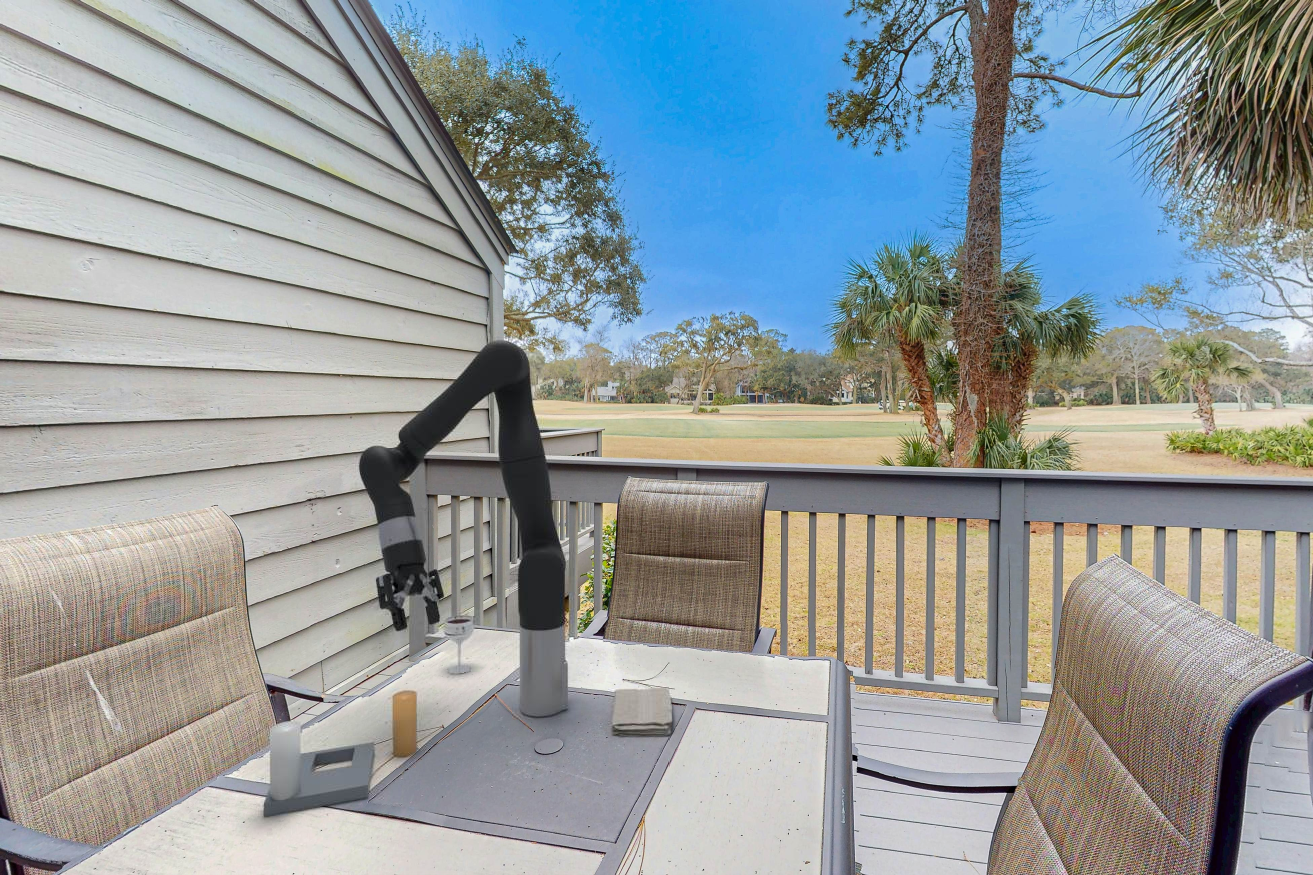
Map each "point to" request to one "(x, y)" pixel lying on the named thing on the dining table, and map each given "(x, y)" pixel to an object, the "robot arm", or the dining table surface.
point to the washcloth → (642, 712)
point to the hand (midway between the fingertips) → (418, 626)
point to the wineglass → (459, 635)
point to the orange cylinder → (404, 723)
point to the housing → (313, 773)
